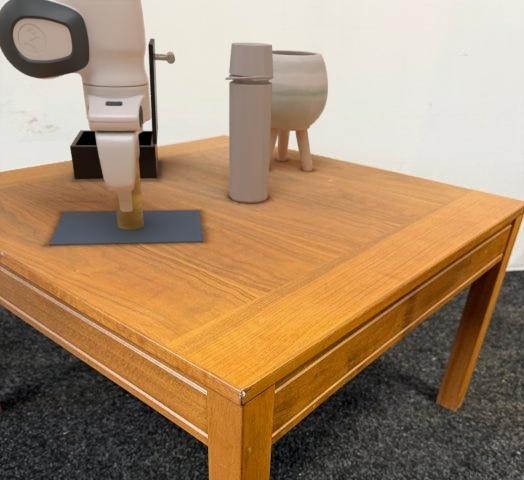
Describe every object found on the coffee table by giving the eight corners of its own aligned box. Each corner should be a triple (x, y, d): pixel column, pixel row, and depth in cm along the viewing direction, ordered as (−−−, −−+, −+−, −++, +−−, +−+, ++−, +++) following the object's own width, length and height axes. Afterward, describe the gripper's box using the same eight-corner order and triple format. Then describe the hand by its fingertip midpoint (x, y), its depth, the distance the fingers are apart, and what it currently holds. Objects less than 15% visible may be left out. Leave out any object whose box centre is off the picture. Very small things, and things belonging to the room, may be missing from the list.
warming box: (75, 183, 106) (69, 146, 102) (84, 163, 118) (80, 130, 114) (157, 182, 108) (155, 146, 104) (158, 163, 120) (156, 130, 116)
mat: (49, 247, 79) (48, 244, 78) (64, 215, 90) (64, 211, 90) (203, 244, 82) (203, 240, 81) (198, 213, 93) (198, 209, 93)
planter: (277, 155, 130) (282, 47, 118) (334, 168, 122) (346, 54, 109) (232, 167, 119) (232, 50, 107) (291, 183, 111) (299, 58, 99)
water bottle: (277, 201, 100) (285, 45, 87) (243, 208, 96) (245, 46, 83) (247, 188, 106) (250, 41, 93) (213, 195, 102) (211, 41, 89)
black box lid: (148, 44, 95) (175, 45, 96) (150, 38, 107) (174, 40, 108) (152, 144, 104) (177, 144, 105) (154, 128, 116) (176, 129, 117)
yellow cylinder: (116, 230, 84) (109, 163, 78) (118, 221, 87) (111, 156, 82) (143, 229, 84) (137, 163, 79) (144, 220, 88) (139, 156, 82)
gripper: (102, 94, 85) (112, 184, 92) (86, 119, 68) (100, 226, 75) (143, 94, 85) (150, 183, 93) (138, 119, 68) (147, 226, 76)
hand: (128, 203), depth 84 cm, fingers open, 5 cm apart
